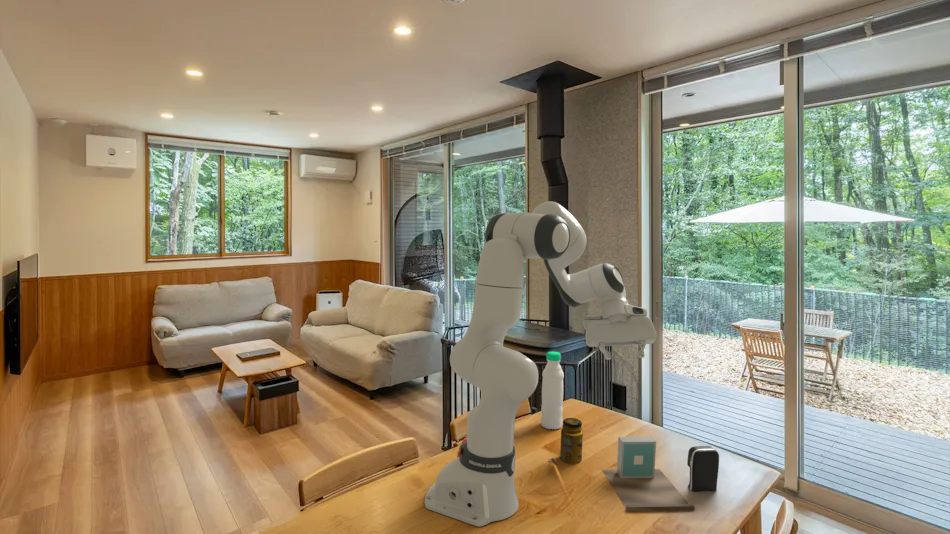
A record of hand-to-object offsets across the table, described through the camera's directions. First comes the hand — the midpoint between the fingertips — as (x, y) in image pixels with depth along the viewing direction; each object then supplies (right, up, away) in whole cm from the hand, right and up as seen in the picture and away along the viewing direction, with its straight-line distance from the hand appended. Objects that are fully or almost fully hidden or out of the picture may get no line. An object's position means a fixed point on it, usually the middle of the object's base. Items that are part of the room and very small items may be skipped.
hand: (625, 357), depth 139 cm
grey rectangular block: (0, -29, -10) cm, 31 cm away
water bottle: (-18, -27, +22) cm, 39 cm away
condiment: (-17, -29, -2) cm, 34 cm away
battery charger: (+15, -31, -15) cm, 38 cm away
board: (0, -31, -16) cm, 35 cm away
